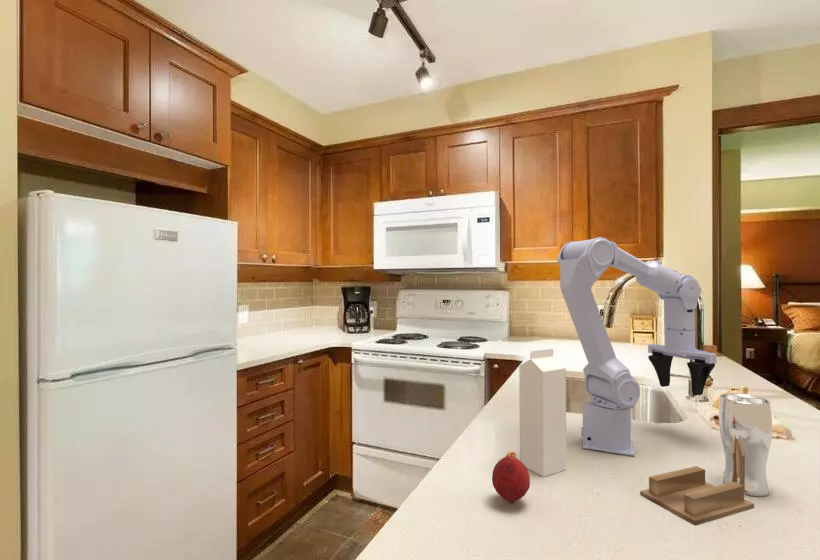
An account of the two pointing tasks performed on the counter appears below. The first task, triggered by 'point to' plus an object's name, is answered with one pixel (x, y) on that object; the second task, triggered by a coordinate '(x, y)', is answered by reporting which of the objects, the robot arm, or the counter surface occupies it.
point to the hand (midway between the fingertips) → (680, 390)
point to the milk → (543, 413)
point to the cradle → (695, 495)
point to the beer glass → (746, 440)
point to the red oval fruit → (511, 478)
